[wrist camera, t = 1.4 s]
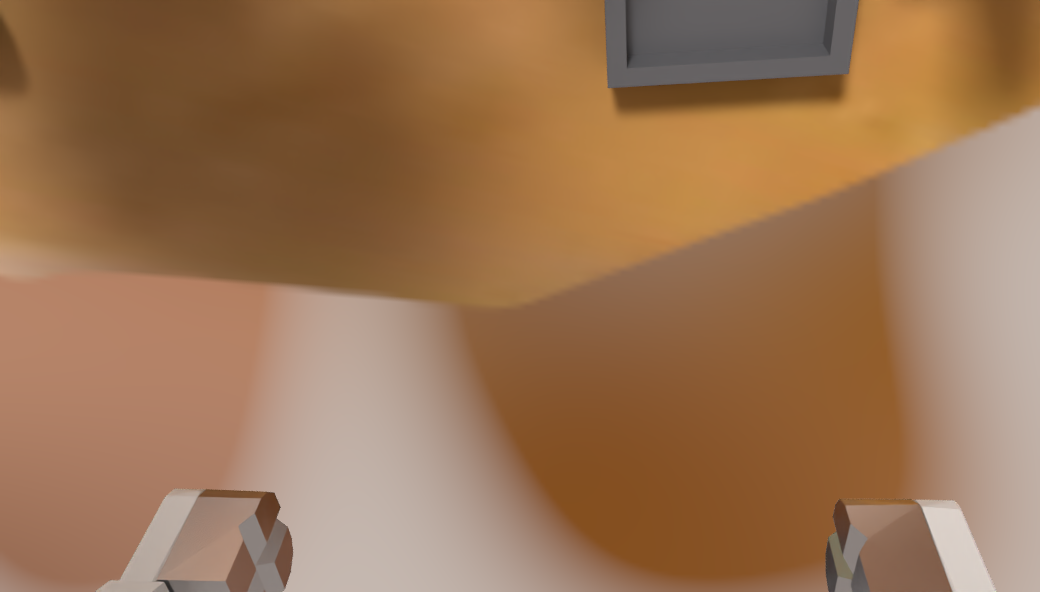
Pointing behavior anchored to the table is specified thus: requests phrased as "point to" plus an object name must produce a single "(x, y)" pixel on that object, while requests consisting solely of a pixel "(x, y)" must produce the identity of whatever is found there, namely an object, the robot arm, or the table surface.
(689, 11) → the tray
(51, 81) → the table surface
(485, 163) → the table surface
